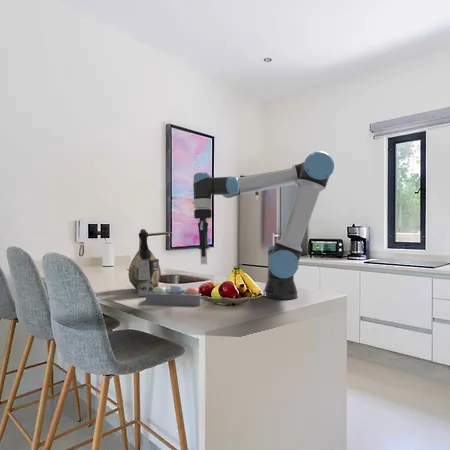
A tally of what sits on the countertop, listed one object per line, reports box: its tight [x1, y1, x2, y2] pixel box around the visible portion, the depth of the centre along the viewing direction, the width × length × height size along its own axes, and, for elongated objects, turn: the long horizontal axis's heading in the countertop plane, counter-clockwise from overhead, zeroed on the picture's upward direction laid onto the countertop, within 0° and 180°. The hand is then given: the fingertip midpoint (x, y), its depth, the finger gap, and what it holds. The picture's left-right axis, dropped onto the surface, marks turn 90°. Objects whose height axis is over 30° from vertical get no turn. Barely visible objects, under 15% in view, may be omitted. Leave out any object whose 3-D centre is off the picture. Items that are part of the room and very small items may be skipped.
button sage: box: [154, 286, 167, 293], centre depth 148 cm, size 5×5×4 cm
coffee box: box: [137, 258, 160, 297], centre depth 162 cm, size 9×6×16 cm
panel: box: [145, 288, 204, 307], centre depth 147 cm, size 22×12×4 cm, turn 84°
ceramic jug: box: [128, 228, 162, 292], centre depth 172 cm, size 17×15×30 cm
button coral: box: [186, 287, 200, 294], centre depth 146 cm, size 5×5×4 cm
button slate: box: [170, 284, 183, 294], centre depth 147 cm, size 5×5×4 cm
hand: (204, 264), depth 151 cm, fingers closed
